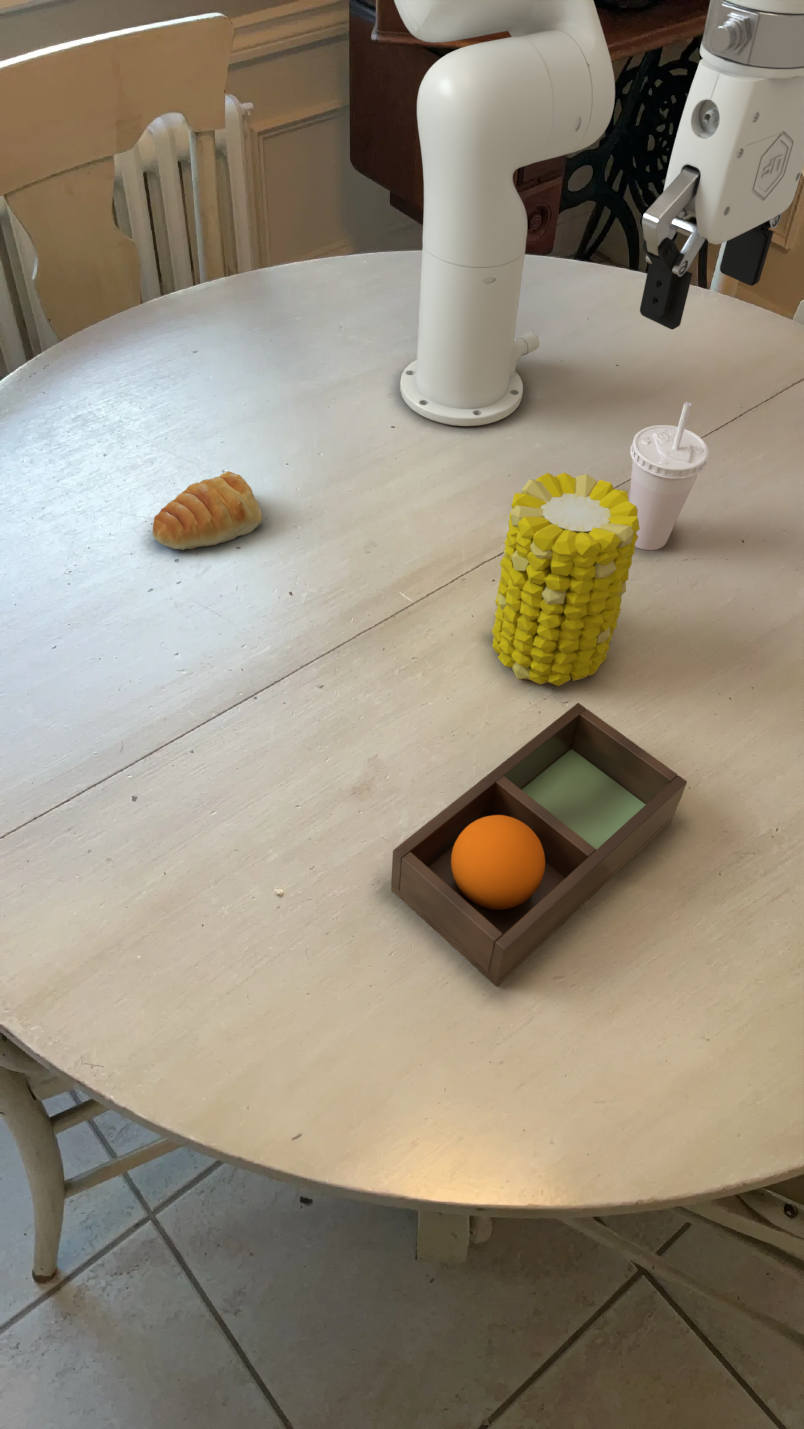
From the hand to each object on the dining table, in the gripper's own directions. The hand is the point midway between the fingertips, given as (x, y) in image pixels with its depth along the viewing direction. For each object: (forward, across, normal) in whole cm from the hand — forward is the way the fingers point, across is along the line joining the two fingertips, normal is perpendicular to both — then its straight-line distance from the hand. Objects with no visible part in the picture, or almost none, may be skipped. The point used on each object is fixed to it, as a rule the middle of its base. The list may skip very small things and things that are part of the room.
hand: (699, 298), depth 77 cm
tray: (+23, -32, -16) cm, 42 cm away
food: (+23, -16, -3) cm, 28 cm away
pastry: (+23, -27, +27) cm, 44 cm away
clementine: (+19, -36, -16) cm, 44 cm away
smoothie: (+23, +1, 0) cm, 23 cm away
